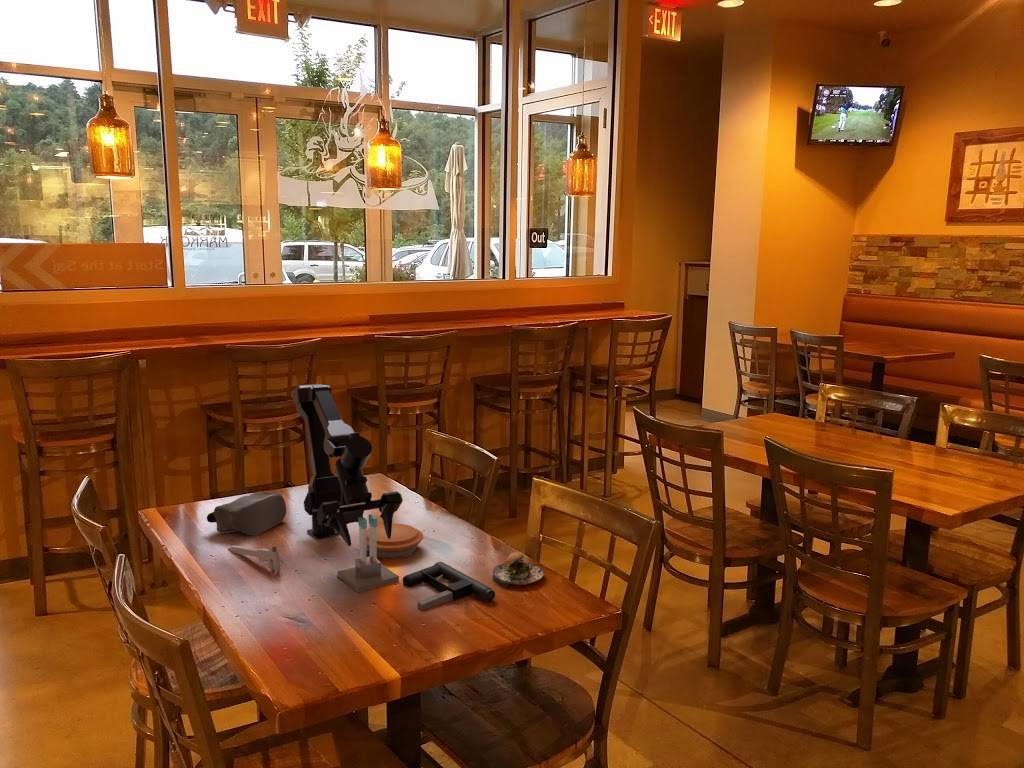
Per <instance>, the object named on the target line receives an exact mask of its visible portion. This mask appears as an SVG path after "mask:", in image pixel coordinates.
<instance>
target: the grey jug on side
mask: <svg viewBox="0 0 1024 768" xmlns="http://www.w3.org/2000/svg"><path fill="white" fill-rule="evenodd" d="M286 515H287V504H286V501H285V499H284V497H283V495H282V494H281V493H280V492H279V491H273V492H272V493H271V492H270V493H269V492H267V491H257V492H254V493H251V494H249V495H243V496H239V497H238V498H237V499H235V500H233V501H231V502H229V503H224V504H221V505H218V506H215V507H214V510H213V511H212V512H210V513H208V514H207V516H206V520H207V522H208V523H212V524H213V523H216V531H217V532H218V533H221V534H228V533H232V532H241V533H243V534H244V533H245V534H247V535H248V536H257V535H261V534H262V533H264V532H267V530H269V529H271V528H273V527H275V526H277V525H279V524H281V523H282V522H283V521H284V519H285V517H286Z"/></svg>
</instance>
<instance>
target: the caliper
mask: <svg viewBox="0 0 1024 768" xmlns="http://www.w3.org/2000/svg"><path fill="white" fill-rule="evenodd" d="M227 550H228V551H230V552H231V553H233V554H239V555H244V556H245V555H246V556H250V557H255V558H258V560H259V562H260V561H261V562H265V561H266V562H267V565H268V568H269V570H270V572H271V573H274V574H275V575H276V574H278V573H281V562H280V561H281V560H280V555H279V551H278V550H277V546H276V545H275V546H274V545H269V546H268V548H263V547H261V548H253V547H246V546H240V545H231V546H229V547H228V548H227Z"/></svg>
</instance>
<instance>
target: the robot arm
mask: <svg viewBox="0 0 1024 768" xmlns="http://www.w3.org/2000/svg"><path fill="white" fill-rule="evenodd" d="M291 393H292V395H291V396H292V397H291V399H292V403H293V404H294V406H295V410H296V412H297V413H298V415H299V416H301V418H302V419H303V421H304V425H305V426H304V427H305V432H306V438H307V446H308V452H309V459H310V466H311V471H312V476H311V478H310V481H309V483H308V486H307V491H308V492H307V493H306V496H305V498H304V501H303V507H304V511H305V513H307V514H308V515H309V516H311V529H307V530H306V533H307V534H309V535H310V536H312V537H313V538H315V539H316V540H320V539H325V538H329V537H335V536H340V537H341V539H343V541H344V542H345V544H346V545H347V546H348V547H351V546H352V540H351V539H352V538H351V535H350V532H349V528H348V525H349V524H352V523H355V524H356V523H358V517H360V516H363V517H364V512H365V511H370V510H376V509H377V510H379V513H381V514H380V516H379V517H380V518H381V520H382V522H383V524H384V527H385V531H386V535H387V537H388V539H390V538H391V530H392V524H393V518H394V517H393V516H394V513H395V512H397V511H398V510H399V508H400V506H401V505H402V504H403V500H404V499H403V497H402V494H401V493H400V491H399V492H398V491H397V490H396V491H390V492H389V491H388V492H385V493H384V492H383V494H382V495H381V497H380V498H379V499H375V500H372V497H373V495H372V492H370V490H369V487H368V485H367V482H368V479H367V476H365V474H364V472H363V468H364V467H365V466H366V463H367V462H368V460H369V458H370V455H371V453H372V451H373V446H372V443H371V442H370V441H369V439H367V438H365V436H364V437H363V436H361V433H360V432H355V430H354V429H353V427H352V426H350V425H349V424H347V423H345V422H344V420H343V418H342V416H341V414H340V411H339V410H338V406H337V404H336V403H335V399H334V397H333V395H332V388H331V386H330V385H327V384H322V383H312V384H299V385H297V386H296V387H295V389H293V390H292V392H291ZM338 457H339V458H338ZM330 458H333V459H334V458H338V459H337V460H336V461H335V464H334V473H335V474H336V475H335V474H334V473H333V472H332V470H331V469H332V468H331V463H330V461H331V460H330Z"/></svg>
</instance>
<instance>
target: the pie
mask: <svg viewBox="0 0 1024 768" xmlns="http://www.w3.org/2000/svg"><path fill="white" fill-rule="evenodd" d="M376 530H377V558H380V559H389V558H390V559H399V558H404V557H407V556H409V555H411V554H413V552H415V550H416V549H417V547H418V546H419V544H420V543H421V542H422V541H423V540H424V534H423V532H422V531H421V530H419V529H417V528H415V527H413V526H412V525H408V524H405V523H393V522H392V530H391V538H390V539H388V537H387V535H386V531H385V527H384V523H383V524H382V523H381V524H379V525H378V524H377V527H376ZM366 551H368V553H369V554H370V531H369V528H367V529H366Z"/></svg>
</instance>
